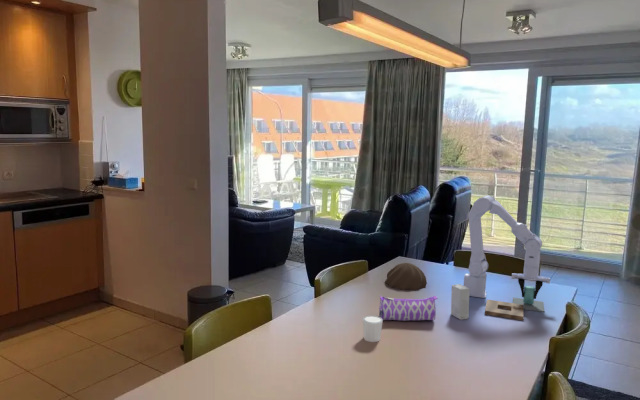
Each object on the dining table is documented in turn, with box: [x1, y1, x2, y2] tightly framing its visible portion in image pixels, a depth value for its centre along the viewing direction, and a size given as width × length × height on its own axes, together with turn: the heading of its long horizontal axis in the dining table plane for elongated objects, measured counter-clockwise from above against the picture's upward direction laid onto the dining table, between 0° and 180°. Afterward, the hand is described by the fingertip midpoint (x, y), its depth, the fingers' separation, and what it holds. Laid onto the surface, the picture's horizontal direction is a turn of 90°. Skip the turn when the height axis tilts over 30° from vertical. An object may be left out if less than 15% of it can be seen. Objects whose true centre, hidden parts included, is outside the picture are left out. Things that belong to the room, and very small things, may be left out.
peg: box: [522, 285, 535, 304], centre depth 197 cm, size 4×4×6 cm
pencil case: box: [378, 294, 439, 322], centre depth 179 cm, size 22×9×9 cm, turn 91°
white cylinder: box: [362, 315, 384, 343], centre depth 161 cm, size 7×7×7 cm
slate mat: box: [512, 297, 546, 313], centre depth 197 cm, size 12×12×1 cm
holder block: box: [484, 299, 524, 321], centre depth 190 cm, size 14×14×2 cm
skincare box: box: [450, 283, 470, 321], centre depth 182 cm, size 6×4×12 cm
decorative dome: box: [384, 262, 428, 291], centre depth 222 cm, size 19×20×10 cm
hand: (528, 297), depth 197 cm, fingers closed on peg, 4 cm apart
